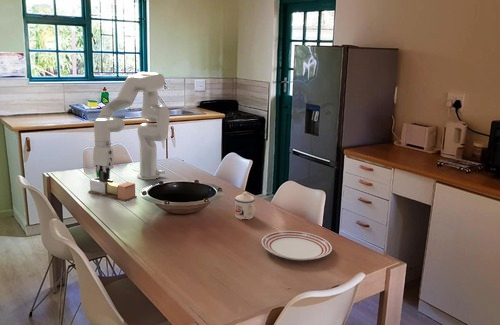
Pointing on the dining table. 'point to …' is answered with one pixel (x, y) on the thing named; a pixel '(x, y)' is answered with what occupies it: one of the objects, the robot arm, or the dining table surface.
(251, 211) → the teacup with lid
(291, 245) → the dinner plate
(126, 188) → the socket block
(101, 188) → the white rectangular block
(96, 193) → the base board
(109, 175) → the food container
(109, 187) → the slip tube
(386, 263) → the dining table surface
